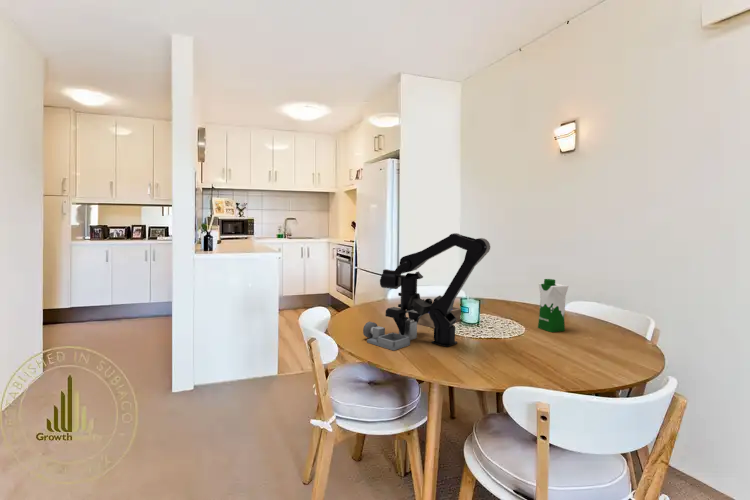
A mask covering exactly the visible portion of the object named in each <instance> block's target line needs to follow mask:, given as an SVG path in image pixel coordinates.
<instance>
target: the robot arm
mask: <svg viewBox="0 0 750 500" xmlns="http://www.w3.org/2000/svg"><path fill="white" fill-rule="evenodd" d="M453 247H457V248H460V249H462V250H465V251H466V252H465V255H464V259H463V262H462V263H461V265H460V267H459V268H458V270H457V272H456V274H455V275H454V277H453V279H452V280H451V282H450V283H449V285H448V287H447V289H446V290H445V292H444V293H443V295H442V296H441V295H438V296H436V297H435V298H434V299H432V298H429V297H428V298H426V299H424V298H423V299H421V294H420V293H419V292H418V280H421V279H423V278H424V275H422V274H421V273H420V271H417V270H418V269H419V268H420V267H422V266H424V265H425V263H426V262H428V261H429V260H430V259H432V258H434V257H437V256H438V255H441V254H442V253H443V252H446V251H447V250H450V249H451V248H453ZM490 250H491V243H490V242H489V241H488V240H487V239H486V238H483V237H481V238H480V237H478V238H474V237H470V236H467V235H463V234H460V233H459V232H458V233H456V232H455V233H450V234H449V235H448V236H447V237H445V238H443V239H441V240H439V241H437V242H435V243H434V244H432V245H430V246H428V247H426V248H424V249H423V250H420V251H417V252H414V253H410V254H407V255H404V256H402V257H401V258H400V259H399V264H398V266H397V267H396V269H394V270H391V269H386V268H385V269H383V270H382V273H381V275H380V279H379V284H380V285H379V286H380V288H383V289H391V290H398V289H399V288H400V292H398V294H397V295H398V297H400V303H398V304H397V307H395V306H392V307H388V308H386V310H385V317H388V318H392V319H393V320H394V322H395V324H396V326H397V329H398V332H399V331H400V333H401V335H404V332H405V322H406V320H407V319H408V318H410V319H414V321H416V322H417V323H418V321H419V318H420V317H421V316H422V315H424V314H428V313H429V315H430V318H431V319H432V320H433V323H434V326H435V328H433V340H432V341H431V343H432V344H435V345H439V346H442V347H446V348H448V347H451V346H454V345H457V344H458V341H456V340H455V339H456V326H454V325H455V324H456V322H457V321H456V320H457V318H456V317H455V316H454V315H453V314H452V312H451V310H452V308H453V307H454V303H455V300H456V298H457V297H458V295H459V293H460V291H462V289H463V287H464V285H465V284H466V282H467V281H468V278H469V277H470V276H471V274H472V272H473V270H474V269H475V267H476V266H477V265H478V264H479V263H480V262H481V261H482V260H483V259H484V257H486V255H488V253H489V252H490ZM413 271H416V272H415V273H413ZM410 272H411V273H410ZM405 273H406V274H405ZM403 274H404V275H403ZM407 315H408V316H407Z"/></svg>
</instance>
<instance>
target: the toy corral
mask: <svg viewBox="0 0 750 500" xmlns="http://www.w3.org/2000/svg"><path fill="white" fill-rule="evenodd" d="M461 308H462V307H458V306H453V308H452V310H451V312H452V314H453V315H454V316H455V317H456V318H457V320H456V322H460V321H461V320H460V315H461ZM417 325H420V326H426V327H429V328H433V329H434V328H435V326H434V323H433V320H432V319H431V318H430V315H429V313H428V314H424V315H422V316H421V317H420V318H419V321H418V323H417Z"/></svg>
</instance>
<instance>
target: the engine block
mask: <svg viewBox="0 0 750 500" xmlns="http://www.w3.org/2000/svg"><path fill="white" fill-rule="evenodd" d="M398 334H401V333H400V331H399V330H398ZM417 334H418V324H417V322H416V321H414V319H410V318H408V319H407V320H406V322H405V332H404V336H408V337H410V341H412V340H415V339H417V338H418V335H417Z"/></svg>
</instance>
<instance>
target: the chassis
mask: <svg viewBox="0 0 750 500" xmlns="http://www.w3.org/2000/svg"><path fill="white" fill-rule="evenodd" d="M377 326H378V327H372V328H371V330H370V333H371V334H373V338H368V339H366V343H367V344H370V345H374V346H378V347H381V348H384V349H387V350H390V351H397V350H400V349H401V348H402V349H403V348H405V347H408V346H411V340H410V337H408V336H404V335H401V334H399V333H397V332H390V333H387V334H386V328H385V327H383V326H380V325H377Z"/></svg>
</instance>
